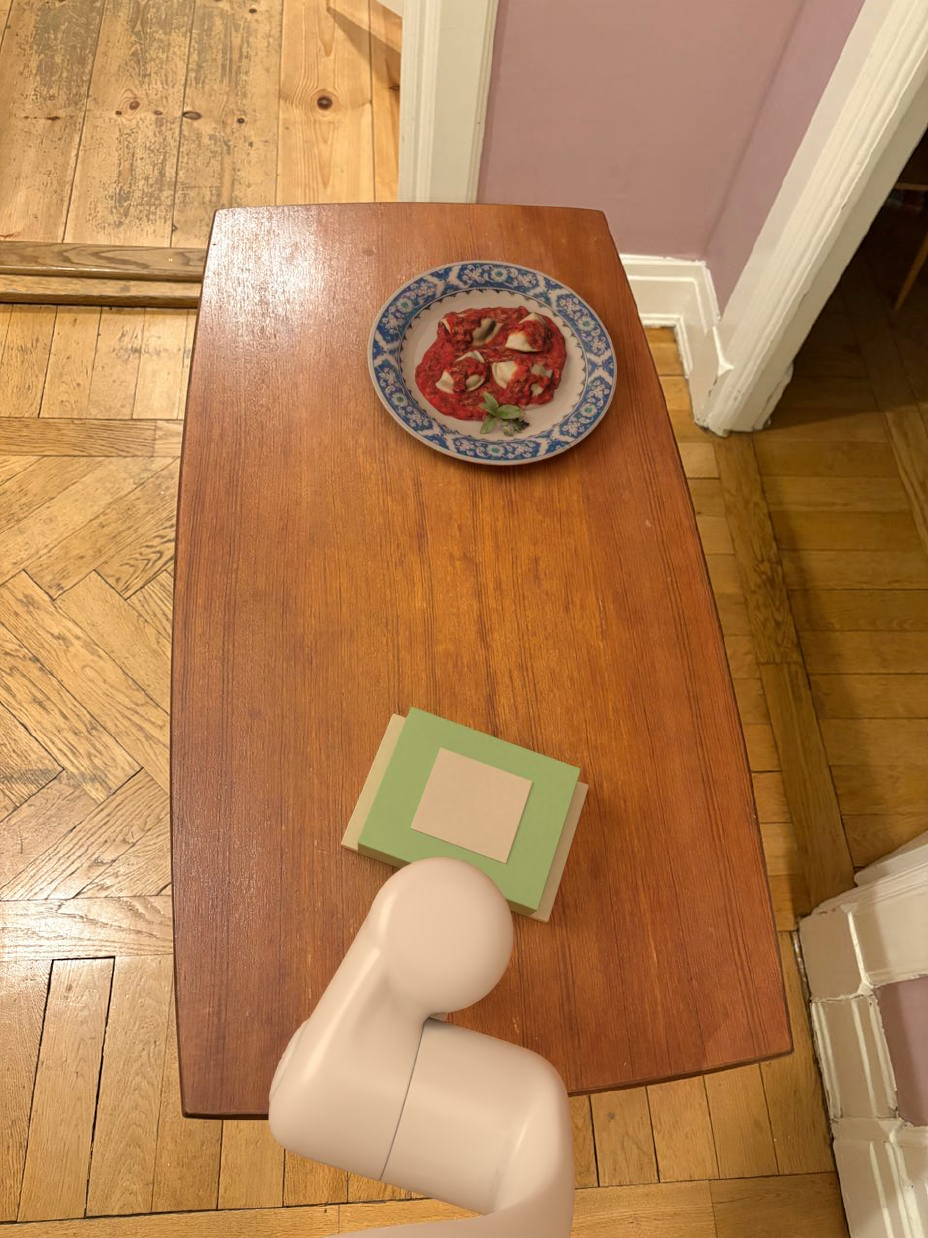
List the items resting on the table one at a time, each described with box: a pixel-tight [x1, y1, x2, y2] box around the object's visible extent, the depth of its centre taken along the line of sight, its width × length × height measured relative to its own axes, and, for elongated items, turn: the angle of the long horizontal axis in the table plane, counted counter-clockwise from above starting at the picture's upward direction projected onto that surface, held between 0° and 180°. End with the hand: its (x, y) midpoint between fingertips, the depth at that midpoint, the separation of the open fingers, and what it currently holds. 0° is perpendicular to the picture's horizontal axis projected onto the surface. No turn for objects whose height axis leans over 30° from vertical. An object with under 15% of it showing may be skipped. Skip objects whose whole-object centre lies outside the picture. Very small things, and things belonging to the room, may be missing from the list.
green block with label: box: [340, 706, 590, 924], centre depth 78 cm, size 12×18×5 cm, turn 71°
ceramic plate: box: [366, 259, 618, 466], centre depth 98 cm, size 26×26×3 cm
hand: (413, 967), depth 74 cm, fingers closed
